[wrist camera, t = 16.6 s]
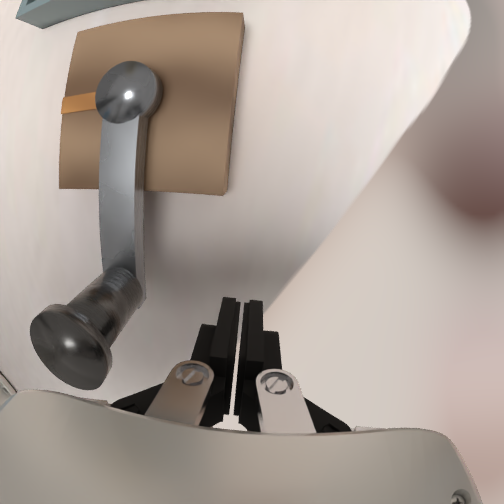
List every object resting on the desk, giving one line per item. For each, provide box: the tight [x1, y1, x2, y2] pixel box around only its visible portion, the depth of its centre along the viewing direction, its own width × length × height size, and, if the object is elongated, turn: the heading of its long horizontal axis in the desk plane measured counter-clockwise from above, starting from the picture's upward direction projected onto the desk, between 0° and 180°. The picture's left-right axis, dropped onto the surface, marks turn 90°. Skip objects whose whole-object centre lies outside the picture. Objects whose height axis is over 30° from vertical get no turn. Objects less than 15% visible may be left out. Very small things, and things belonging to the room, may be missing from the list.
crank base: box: [59, 12, 245, 196], centre depth 13 cm, size 10×10×2 cm
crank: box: [30, 61, 163, 390], centre depth 10 cm, size 13×4×7 cm, turn 174°
